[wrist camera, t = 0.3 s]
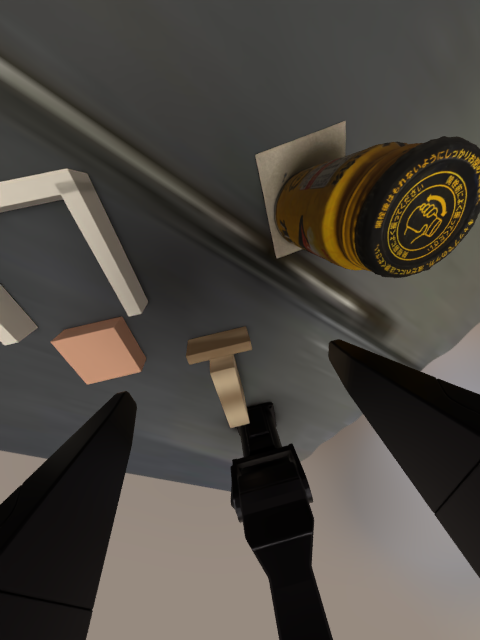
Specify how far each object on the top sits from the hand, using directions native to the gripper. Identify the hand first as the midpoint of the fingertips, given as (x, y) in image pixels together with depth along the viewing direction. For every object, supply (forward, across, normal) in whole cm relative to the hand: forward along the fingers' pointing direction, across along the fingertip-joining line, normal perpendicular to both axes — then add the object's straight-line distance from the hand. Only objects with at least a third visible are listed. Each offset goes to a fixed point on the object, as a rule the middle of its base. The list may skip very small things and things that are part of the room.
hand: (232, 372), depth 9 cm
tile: (+14, +14, +5) cm, 20 cm away
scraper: (+14, +2, +13) cm, 19 cm away
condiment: (+14, -9, -6) cm, 17 cm away
